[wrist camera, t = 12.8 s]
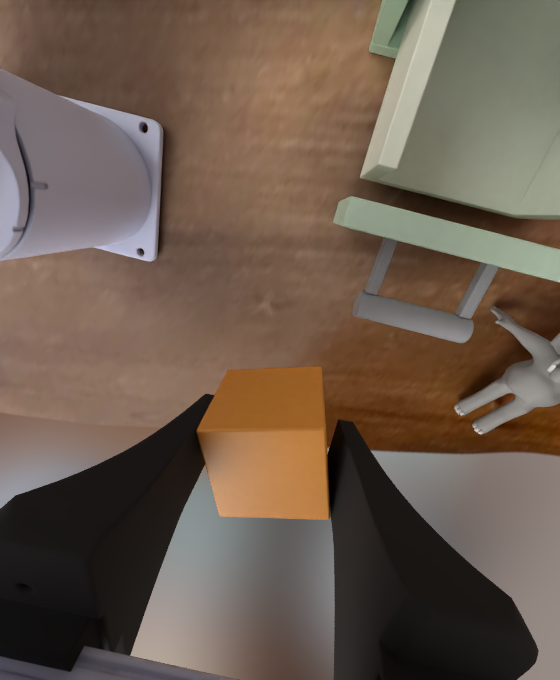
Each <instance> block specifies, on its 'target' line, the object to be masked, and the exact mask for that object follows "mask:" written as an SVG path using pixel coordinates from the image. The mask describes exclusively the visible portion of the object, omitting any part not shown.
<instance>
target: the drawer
mask: <svg viewBox="0 0 560 680" xmlns="http://www.w3.org/2000/svg"><path fill="white" fill-rule="evenodd" d="M360 178H361V179H365V180H369V181H373V182H377V183H381V184H385V185H389V186H392V187H396V188H400V189H404V190H408V191H412V192H416V193H420V194H424V195H427V196H431V197H435V198H439V199H443V200H447V201H451V202H455V203H459V204H462V205H466V206H470V207H474V208H478V209H482V210H486V211H490V212H494V213H497V214H501V215H505V216H509V217H513V218H517V219H551V220H560V0H414V1H413V4H412V8H411V11H410V14H409V18H408V21H407V24H406V27H405V31H404V34H403V37H402V40H401V44H400V47H399V50H398V54H397V57H396V60H395V63H394V67H393V70H392V73H391V76H390V80H389V83H388V86H387V90H386V93H385V96H384V99H383V103H382V106H381V109H380V112H379V116H378V119H377V122H376V125H375V129H374V132H373V135H372V139H371V142H370V145H369V148H368V152H367V155H366V158H365V161H364V165H363V168H362V171H361V175H360ZM333 223H335V224H337V225H340V226H342V227H346V228H350V229H353V230H357V231H361V232H365V233H369V234H373V235H377V236H381V237H384V238H383V241H382V244H381V246H380V249H379V252H378V255H377V257H376V260H375V263H374V266H373V268H372V271H371V274H370V277H369V279H368V282H367V285H366V288H365V291H366V292H365V291H360V292H359V293H358V295H357V297H356V299H355V302H354V306H353V316H355V317H359V318H363V319H367V320H371V321H375V322H379V323H383V324H387V325H391V326H395V327H398V328H402V329H406V330H410V331H414V332H418V333H422V334H426V335H430V336H434V337H438V338H442V339H445V340H449V341H453V342H457V343H464V342H466V341H467V340H468V339H469V338H470V337H471V335H472V333H473V329H474V323H473V321H472V320H471V317H472V316H473V314H474V312H475V310H476V308H477V307H478V305H479V303H480V301H481V299H482V297H483V296H484V294H485V292H486V290H487V288H488V287H489V285H490V283H491V281H492V279H493V277H494V276H495V274H496V272H497V270H498V268H499V267H502V268H506V269H509V270H513V271H517V272H521V273H525V274H529V275H533V276H537V277H541V278H544V279H548V280H552V281H556V282H560V249H556V248H552V247H548V246H544V245H540V244H537V243H533V242H529V241H525V240H521V239H517V238H513V237H509V236H505V235H502V234H498V233H494V232H490V231H486V230H482V229H478V228H474V227H470V226H466V225H463V224H459V223H455V222H451V221H447V220H443V219H439V218H435V217H431V216H428V215H424V214H420V213H416V212H412V211H408V210H404V209H400V208H396V207H393V206H389V205H385V204H381V203H377V202H373V201H369V200H365V199H361V198H358V197H354V196H350V197H348V198H346V199H343V200H341V201H339V203H338V206H337V210H336V213H335V217H334V220H333ZM398 241H400V242H404V243H408V244H412V245H416V246H420V247H424V248H428V249H431V250H435V251H439V252H443V253H447V254H451V255H455V256H459V257H463V258H467V259H470V260H474V261H478V262H481V264H480V266H479V268H478V270H477V272H476V273H475V275H474V277H473V279H472V281H471V283H470V285H469V287H468V289H467V291H466V293H465V295H464V297H463V298H462V300H461V302H460V304H459V306H458V308H457V310H456V312H455V314H456V315H455V314H451V313H447V312H443V311H439V310H435V309H431V308H427V307H423V306H419V305H416V304H412V303H408V302H404V301H400V300H396V299H392V298H388V297H384V296H380V295H377V294H378V292H379V289H380V287H381V284H382V281H383V279H384V276H385V274H386V271H387V269H388V266H389V263H390V261H391V258H392V256H393V253H394V250H395V248H396V245H397V243H398Z"/></svg>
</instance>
